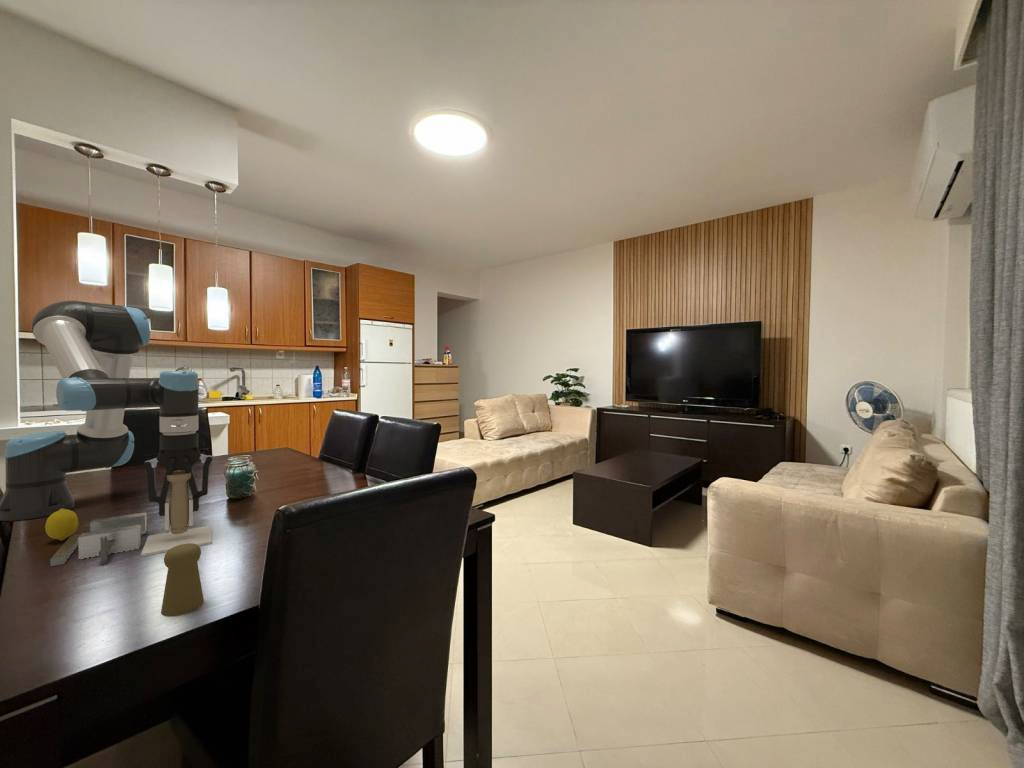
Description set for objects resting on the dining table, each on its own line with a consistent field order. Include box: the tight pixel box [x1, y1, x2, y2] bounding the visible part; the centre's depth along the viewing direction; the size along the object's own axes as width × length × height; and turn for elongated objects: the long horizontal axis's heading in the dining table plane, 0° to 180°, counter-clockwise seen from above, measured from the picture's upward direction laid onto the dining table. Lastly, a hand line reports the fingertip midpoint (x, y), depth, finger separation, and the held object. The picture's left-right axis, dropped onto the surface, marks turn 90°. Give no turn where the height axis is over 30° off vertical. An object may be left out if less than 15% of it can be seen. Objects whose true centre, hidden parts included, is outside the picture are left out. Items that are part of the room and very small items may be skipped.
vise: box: [49, 512, 148, 567], centre depth 96 cm, size 21×14×7 cm, turn 36°
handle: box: [167, 470, 191, 535], centre depth 102 cm, size 5×6×15 cm
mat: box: [140, 524, 213, 557], centre depth 102 cm, size 13×13×1 cm
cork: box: [160, 543, 205, 617], centre depth 74 cm, size 6×6×11 cm
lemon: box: [44, 508, 79, 542], centre depth 101 cm, size 6×6×8 cm
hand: (179, 526), depth 102 cm, fingers closed on handle, 4 cm apart
